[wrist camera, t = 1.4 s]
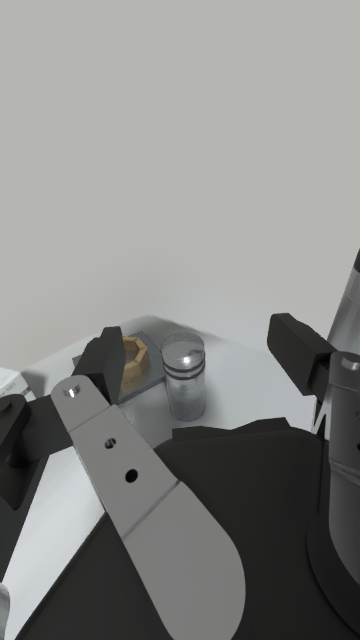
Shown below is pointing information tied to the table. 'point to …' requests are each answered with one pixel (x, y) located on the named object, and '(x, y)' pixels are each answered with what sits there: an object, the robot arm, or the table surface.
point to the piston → (185, 375)
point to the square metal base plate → (138, 366)
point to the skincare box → (14, 384)
